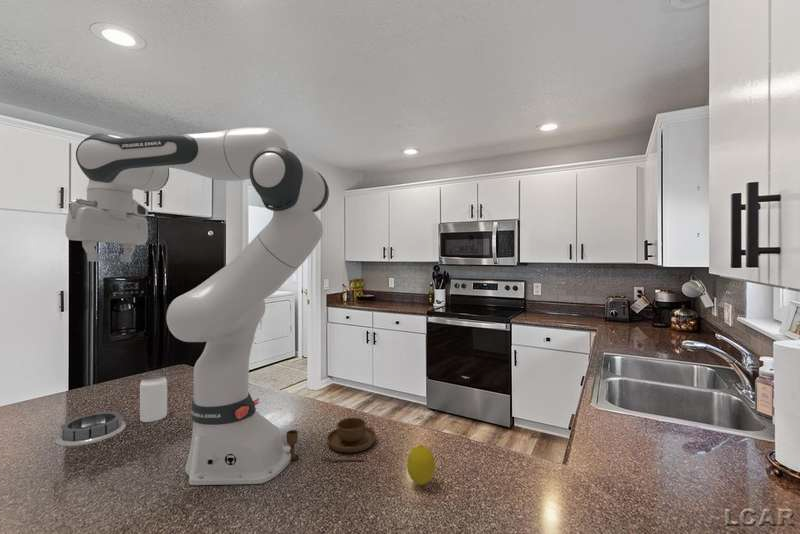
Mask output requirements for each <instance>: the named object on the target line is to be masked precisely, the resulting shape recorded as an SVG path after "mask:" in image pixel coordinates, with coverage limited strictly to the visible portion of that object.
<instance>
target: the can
mask: <svg viewBox="0 0 800 534" xmlns="http://www.w3.org/2000/svg"><path fill="white" fill-rule="evenodd" d="M167 416H168V380H167V377H166V374H164V373H154V374H148V375H145V376H143V377H142V378H141V382H140V384H139V421H140V422H142V423H151V422H157V421H161V420H162V419H165V418H166V417H167Z"/></svg>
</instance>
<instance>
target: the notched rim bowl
mask: <svg viewBox="0 0 800 534" xmlns="http://www.w3.org/2000/svg"><path fill="white" fill-rule="evenodd" d="M122 418H123V417H122V414H121V413H120V412H117V411H105V412H96V413H91V414H90V413H89V414H87V415H82V416H80V417H79V416H78V417H76V418H73V419H70V420H67V421H66V422H65V423H63V425H61V426H60V433H59V434H58V435H57V436H56V437H55V444H56V445H58V446H61V447H78V446H85V445H89V444H90V445H91V444H93V443H94V444H95V443H98V442H101V441H104V440H107V439H110V438H112V437H114V436H116V435H118V434H120V433H122V432H123V431H124V430H125V429H126V426H127V424H126V422H125V421H124V420H123V419H122Z"/></svg>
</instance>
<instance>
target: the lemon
mask: <svg viewBox="0 0 800 534" xmlns="http://www.w3.org/2000/svg"><path fill="white" fill-rule="evenodd" d="M406 464H407V465H406V466H407V473H408V476H409V479H411V480H412V481H413V483H415V484H418V485H419V486H423V485H426V484H428V483H429V482H430V481H431V480H432V479H433V477H434V475H435V472H436V461H435V456H434V453H433V452H432V450H431V449H429V448H428V447H427V446H425V445H423V444H419V445H417V446H414V447H413V448H412V449H411V450H410V452H409V454H408V457H407V461H406Z"/></svg>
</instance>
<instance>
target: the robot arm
mask: <svg viewBox="0 0 800 534" xmlns="http://www.w3.org/2000/svg"><path fill="white" fill-rule="evenodd" d="M75 159H76V162H77V164H78V167H79V168H80V170H81V171H82V173H83V174H84V175H85V176H86V177H87V178H88V184H87V188H86V199H83V198H76V199H74V200H72V201H71V202H70V203H69V210H68V213H67V216H66V223H65V231H64V232H65V236H66V237H67V239H68V240H70V241H81V244H82V245H81V246H82V248H83V249H84V252H85V253H86V257H87V258H86V259H87V262H100V261H101V254H100V253H98V252H97V250H96V246H97V243H105V244H117V245H118V244H120V245H122V246H123V249H124V250H123V253H122V254H120V256H119V257H120V262H122V263H131V262H132V255H133V253H134V252H135V250H136V246H145V245H146V244H147V241H148V236H149V228H148V220H147V218H146V217H147V216H148V215H149V210H148V209H147V208H146V207H145V206H144V205H142V204H141V203H139V202H138V201H137V200H136V199H134V193H133V192H134V190H138V191H143V192H157V191H160V190H161V189H162V188H164V187H165V186H166V184H167V183H168V181H169V178H170V169H171V168H172V169H177V170H181V171H184V172H185V171H186V172H188V173H189V172H190V173H192V174H195V175H198V176H203V177H205V178H209V179H212V180H217V181H226V182H227V181H230V182H233V181H234V182H238V181H244V180H246V181H247V180H250V182H251V184H252V187H253V189H255V191H256V193H257V194H258V196H259V197H260V200H261V201H262V203H263V205H264V207H265V208H266V209H267V210H269V211H273V213H272V217H271V219H270V221H269V222H268V223H267V224H266V225H265V227H263V228H262V230H260V231H259V233H257V235H256V236H255V237H253V239H252V240H251V241H250V242H249V243H248V244H247V245H246V246H245V248H243V250H241V252H240V253H239V254H238V255H237V256H236V257H235V258H233V260H231V261H230V262H229V263H228V264H226V265H225V266H224V267H222V268H221V269H219V270H218V271H216V272H215V273H214V274H212V275H211V276H210V277H209V278H207V279H206V280H204V281H203V282H201V284H198V285H197V286H196V287H194V288H192V289H191V290H189V291H187V292H185V293H183V294H181V295H179V296H177V297H176V298H174V299H173V300H172V301H170V302H171V303H170V304H169V305H168V307H167V311H166V317H165V319H166V324H167V328H168V330H169V331H170V333H171V334H172V335H173V337H174V338H175V339H178V340H180V341H182V342H186V343H204V342H205V343H206V344H205V346H204V349H203V351H202V352H201V355H200V356H199V358H198V359H197V360H196V362H195V364H194V367H193V400H192V402H191V407H190V409H191V410H190V412H191V413H190V415H191V416H190V417H191V418H190V419H191V420H192V431H191V432H192V434H191V441H190V448H189V452H188V453H189V454H188V457H187V460H186V464H185V467H184V471H185V473H186V474H187V475H188V484H189V485H191V486H210V485H211V486H213V485H215V486H217V485H221V486H222V485H259V484H264V483H266V482H269V481H270V480H272V479H274V478H276V477H277V476H278V475H279V474H281V472H283V471H284V470H285V468H287V466H289V464H290V462H291V461H290V460H291V453H290V449H291V448H290V446H291V445H285V444H284V443H283V436H282V433H281V429H279V427H278V426H277V425H276V424H274V423H273V422H271V421H270V420H268V419H267V418H266V417H264V416H263V415H262V414H261V413H259V412H258V411H257V408H256V405H258V404H259V403H260V401H259V400H260V398H259V397H258V398H256V399H254V400H253V398H252V395H251V394H250V392H249V376H250V375H249V372H250V371H249V369H250V368H249V365H250V358H251V353H252V348H253V343H254V339H255V334H256V332H257V328H258V326H259V324H260V321H261V320H262V318H263V317H264V315H265V312H266V302H265V299H266V298H268V297H271V296H272V295H273V294H274V293H276V292H277V291H278V290H279V289H280V288H281V287H282V286H283V284H285V282H286V281H287V280H288V279H289V278H291V276H292V275H293V274H294V273H295V272H296V271H297V270H298V269H299V268H300V267H301V266H302V264H303V263H304V262H305V261H306V260H307V259H308V258H309V256H310V255H311V254H312V252H313V251H314V250H315V248H316V246H317V245H318V243H319V242H320V241H321V239H322V238H323V234H324V227H323V223H322V222H321V220H320V217H319V216H318V215H317V214H316V212H318V211H320V210H321V209H323V208H324V207H325V206H326V204H327V203H328V201H329V196H330V192H329V191H330V189H329V186H328V183H327V181H326V179H325V178H324V176H323V175H322V174H321V173H320V172H319V171H317V170H316V169H315V168H314V167H313V166H312V165H311V164H310V163H308V162H307V160H305V159H303V158H301V157H299V156H297V155H296V154H295V153H293V152H292V151H290V150H289V147H288V143H287V142H286V140H285V137H284V136H283V135H282V134H281V133H280V132H279V131H278V130H276V129H275V128H272V127H260V126H252V127H251V126H247V127H238V128H229V129H224V130H217V131H215V130H214V131H209V132H197V133H184V134H183V133H182V134H160V135H147V136H145V135H144V136H135V137H134V136H133V137H122V136H119V135H115V134H105V133H102V132H98V133H94V134H92V135H89V136H87V137H86V138H84V139H82V141H81V142H80V143H79V144H78V146H77V147H76V151H75Z"/></svg>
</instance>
